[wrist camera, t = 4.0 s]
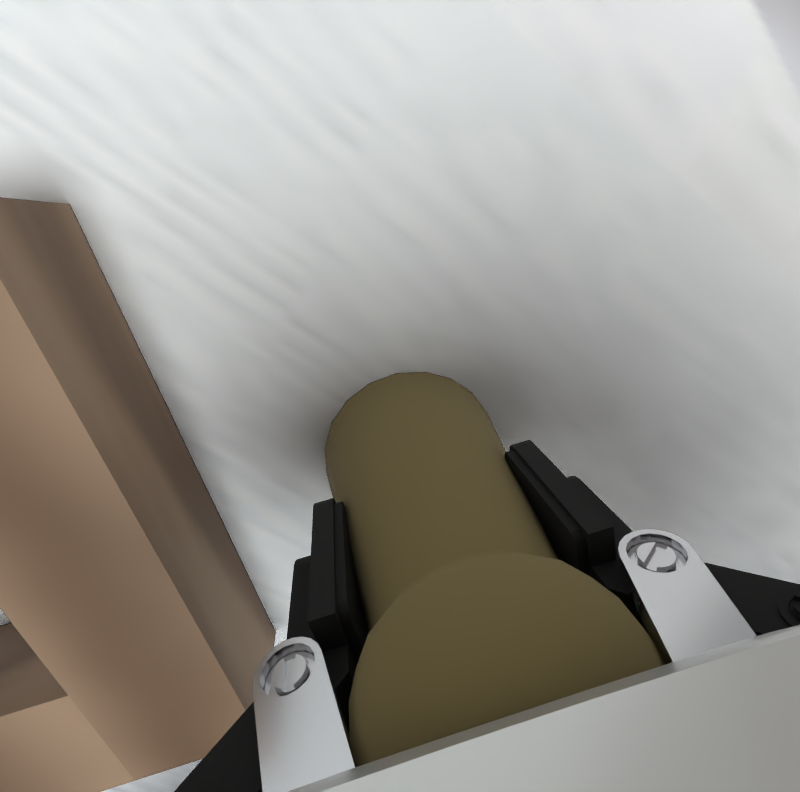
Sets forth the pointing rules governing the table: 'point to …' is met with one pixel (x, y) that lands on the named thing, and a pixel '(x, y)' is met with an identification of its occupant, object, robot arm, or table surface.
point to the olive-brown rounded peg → (458, 575)
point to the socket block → (103, 539)
